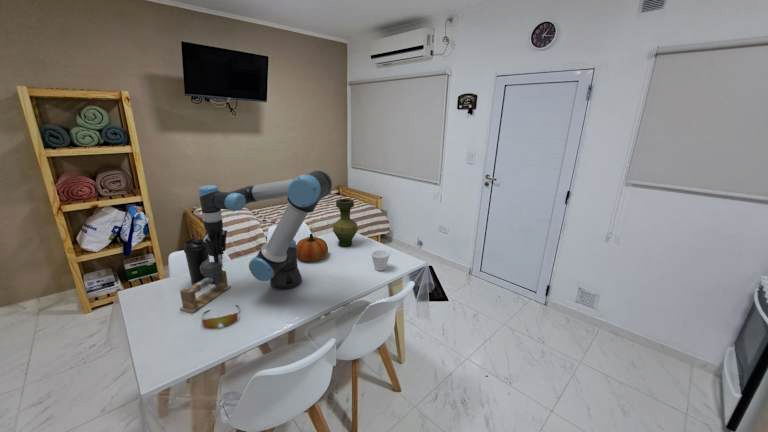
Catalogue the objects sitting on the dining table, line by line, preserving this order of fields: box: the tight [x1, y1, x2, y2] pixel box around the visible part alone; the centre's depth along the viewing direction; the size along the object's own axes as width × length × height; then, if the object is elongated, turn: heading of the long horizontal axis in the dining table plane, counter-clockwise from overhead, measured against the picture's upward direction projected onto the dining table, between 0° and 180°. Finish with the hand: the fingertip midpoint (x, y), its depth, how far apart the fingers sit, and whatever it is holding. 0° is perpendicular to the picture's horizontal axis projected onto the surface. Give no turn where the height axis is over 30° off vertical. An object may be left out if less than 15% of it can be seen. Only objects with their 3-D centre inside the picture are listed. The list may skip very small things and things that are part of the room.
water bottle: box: [183, 237, 211, 286], centre depth 150 cm, size 10×10×23 cm
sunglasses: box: [200, 304, 241, 329], centre depth 128 cm, size 14×15×5 cm
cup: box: [370, 249, 390, 272], centre depth 172 cm, size 10×10×9 cm
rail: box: [179, 269, 232, 314], centre depth 140 cm, size 22×7×9 cm, turn 165°
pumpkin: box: [296, 233, 329, 262], centre depth 183 cm, size 19×19×15 cm
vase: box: [332, 198, 358, 249], centre depth 200 cm, size 16×16×30 cm
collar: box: [201, 261, 223, 286], centre depth 143 cm, size 6×5×9 cm
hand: (219, 267), depth 147 cm, fingers closed
